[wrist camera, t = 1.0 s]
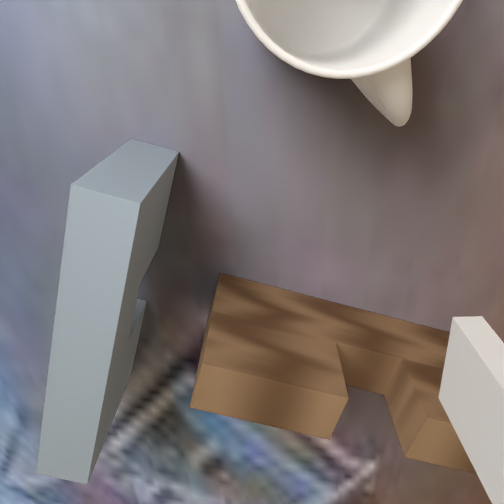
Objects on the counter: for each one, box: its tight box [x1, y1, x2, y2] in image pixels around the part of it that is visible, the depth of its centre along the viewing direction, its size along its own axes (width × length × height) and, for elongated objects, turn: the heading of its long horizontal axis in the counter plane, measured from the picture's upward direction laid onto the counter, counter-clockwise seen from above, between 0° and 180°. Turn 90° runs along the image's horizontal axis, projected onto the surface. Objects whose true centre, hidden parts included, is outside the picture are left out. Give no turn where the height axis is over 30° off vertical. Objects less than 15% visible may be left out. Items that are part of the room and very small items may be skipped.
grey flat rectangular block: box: [36, 139, 179, 484], centre depth 28 cm, size 3×18×10 cm, turn 164°
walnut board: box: [190, 273, 477, 474], centre depth 30 cm, size 20×3×10 cm, turn 74°
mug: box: [236, 0, 463, 127], centre depth 21 cm, size 9×12×11 cm
